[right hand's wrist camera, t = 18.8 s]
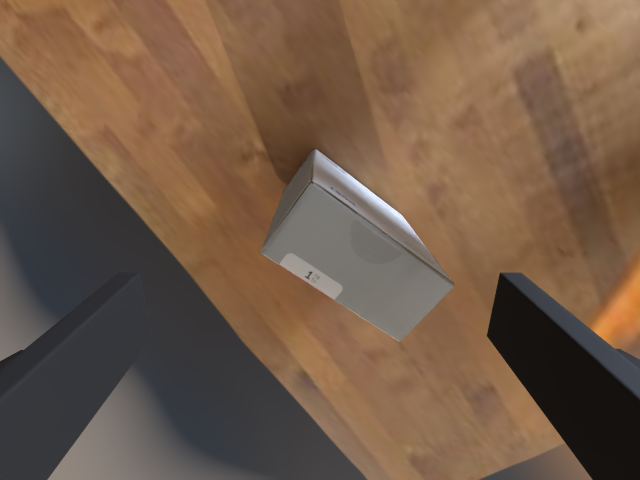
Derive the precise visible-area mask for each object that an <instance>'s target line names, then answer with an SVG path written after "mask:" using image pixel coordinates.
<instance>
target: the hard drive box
mask: <svg viewBox="0 0 640 480" xmlns="http://www.w3.org/2000/svg"><path fill="white" fill-rule="evenodd" d="M260 253H261V254H263V255H264V256H266V257H267V258H269V259H271V260H272V261H274V262H275V263H277V264H278V265H280V266H281V267H283V268H284V269H286V270H287V271H289V272H291V273H292V274H294V275H295V276H297V277H299V278H300V279H302V280H303V281H305V282H306V283H308V284H309V285H311V286H313V287H314V288H316V289H317V290H319V291H321V292H322V293H324V294H325V295H327V296H328V297H330V298H332V299H333V300H335V301H337V302H338V303H340V304H342V305H343V306H345V307H346V308H348V309H349V310H351V311H352V312H354V313H355V314H357V315H358V316H360V317H361V318H363V319H364V320H366V321H368V322H369V323H371V324H373V325H374V326H376V327H377V328H379V329H380V330H382V331H383V332H385V333H387V334H388V335H390V336H391V337H393V338H394V339H396V340H397V341H400V340H402V339H403V338H404V337H405V336H406V335H407V334H408V333H409V332H410V331H411V330H412V329H413V328H414V327H415V326H416V325H417V324H418V323H419V322H420V321H421V320H422V319H423V318H424V317H425V316H426V315H427V314H428V313H429V312H430V311H431V310H432V308H433V307H434V306H435V305H436V304H437V303H438V302H439V301H440V300H441V299H442V298H443V297H444V296H445V295H446V294H447V293H448V292H449V291H450V290H451V289H452V288H453V287H454V283H453V282H452V280H451V279H450V278H449V277H448V275H447V274H446V273H445V271H444V270H443V269H442V267H441V266H440V265H439V263H438V262H437V261H436V259H435V258H434V257H433V255H432V254H431V253H430V251H429V250H428V249H427V248H426V246H425V245H424V244H423V242H422V241H421V240H420V238H419V237H418V236H417V234H416V233H415V232H414V230H413V229H412V228H411V226H410V225H409V224H408V223H407V221H406V220H405V219H404V217H403V216H402V215H401V214H400V213H398V212H397V211H396V210H394V209H393V208H392V207H390V206H389V205H388V204H387V203H385V202H384V201H383V200H381V199H380V198H379V197H377V196H376V195H375V194H373V193H372V192H371V191H370V190H368V189H367V188H366V187H365V186H363V185H362V184H361V183H359V182H358V181H357V180H356V179H354V178H353V177H352V176H350V175H349V174H348V173H347V172H345V171H344V170H343V169H341V168H340V167H339V166H338V165H336V164H335V163H334V162H332V161H331V160H330V159H328V158H327V157H326V156H325V155H323V154H322V153H321V152H319V151H318V150H317V149H315V150H312V151H311V153H310V154H309V155H308V157H307V158H306V160H305V161H304V162H303V164H302V165H301V167H300V168H299V170H298V171H297V173H296V174H295V176H294V177H293V178H292V180H291V181H290V183H289V184H288V186H287V187H286V189H285V190H284V192H283V194H282V197H281V200H280V203H279V205H278V208H277V210H276V213H275V216H274V218H273V221H272V223H271V226H270V229H269V231H268V234H267V237H266V240H265V242H264V245H263V248H262V250H261V251H260Z"/></svg>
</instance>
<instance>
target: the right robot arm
mask: <svg viewBox="0 0 640 480" xmlns="http://www.w3.org/2000/svg"><path fill="white" fill-rule="evenodd" d="M152 337H153V333H152V328H151V324H150V319H149V314H148V309H147V304H146V299H145V295H144V290H143V285H142V280H141V275H140V273H118V274H117V275H116V276H114V277H113V278H112V279H111V280H109V281H108V282H107V283H106V284H104V285H103V286H102V287H101V288H100V289H98V290H97V291H96V292H95V293H93V294H92V295H91V296H90V297H88V298H87V299H86V300H85V301H84V302H82V303H81V304H80V305H79V306H77V307H76V308H75V309H74V310H73V311H71V312H70V313H69V314H68V315H66V316H65V317H64V318H63V319H61V320H60V321H59V322H58V323H57V324H55V325H54V326H53V327H52V328H50V329H49V330H48V331H47V332H46V333H44V334H43V335H42V336H41V337H39V338H38V339H37V340H36V341H35V342H33V343H32V344H31V345H30V346H28V347H27V348H26V349H25V350H20V351H19V352H17V353H15V354H13V355H11V356H9V357H7V358H6V359H4V360H2V361H0V480H47V479H48V478H49V477H50V475H51V474H52V472H53V471H54V470H55V468H56V467H57V466H58V464H59V463H60V462H61V460H62V459H63V457H64V456H65V455H66V453H67V452H68V451H69V449H70V448H71V447H72V445H73V444H74V443H75V441H76V440H77V439H78V437H79V436H80V434H81V433H82V432H83V430H84V429H85V428H86V426H87V425H88V424H89V422H90V421H91V420H92V418H93V417H94V415H95V414H96V413H97V411H98V410H99V409H100V407H101V406H102V405H103V403H104V402H105V400H106V399H107V398H108V396H109V395H110V394H111V392H112V391H113V390H114V388H115V387H116V386H117V384H118V383H119V381H120V380H121V379H122V377H123V376H124V375H125V373H126V372H127V371H128V369H129V368H130V366H131V365H132V364H133V362H134V361H135V360H136V358H137V357H138V356H139V354H140V353H141V352H142V350H143V349H144V347H145V346H146V345H147V343H148V342H149V341H150V339H151V338H152ZM487 337H488V338H489V339H490V341H491V342H492V343H493V345H494V346H495V347H496V349H497V350H498V352H499V353H500V354H501V356H502V357H503V358H504V360H505V361H506V362H507V364H508V365H509V367H510V368H511V369H512V371H513V372H514V373H515V375H516V376H517V377H518V379H519V380H520V381H521V383H522V384H523V386H524V387H525V388H526V390H527V391H528V392H529V394H530V395H531V396H532V398H533V399H534V400H535V402H536V403H537V405H538V406H539V407H540V409H541V410H542V411H543V413H544V414H545V415H546V417H547V418H548V420H549V421H550V422H551V424H552V425H553V426H554V428H555V429H556V430H557V432H558V433H559V434H560V436H561V437H562V439H563V440H564V441H565V443H566V444H567V445H568V447H569V448H570V449H571V451H572V452H573V453H574V455H575V456H576V458H577V459H578V460H579V462H580V463H581V464H582V466H583V467H584V468H585V470H586V471H587V473H588V474H589V475H590V477H591V478H592V479H593V480H640V360H639V359H637V358H635V357H634V356H632V355H630V354H628V353H626V352H624V351H622V350H620V349H614V348H613V347H612V346H610V345H609V344H608V343H607V342H606V341H604V340H603V339H602V338H601V337H599V336H598V335H597V334H596V333H594V332H593V331H592V330H591V329H590V328H588V327H587V326H586V325H585V324H583V323H582V322H581V321H580V320H579V319H577V318H576V317H575V316H574V315H572V314H571V313H570V312H569V311H567V310H566V309H565V308H564V307H563V306H561V305H560V304H559V303H558V302H556V301H555V300H554V299H553V298H552V297H550V296H549V295H548V294H547V293H545V292H544V291H543V290H542V289H540V288H539V287H538V286H537V285H536V284H534V283H533V282H532V281H531V280H529V279H528V278H527V277H526V276H524V275H523V274H522V273H500V275H499V280H498V285H497V290H496V295H495V299H494V304H493V309H492V314H491V319H490V324H489V328H488V333H487Z"/></svg>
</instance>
